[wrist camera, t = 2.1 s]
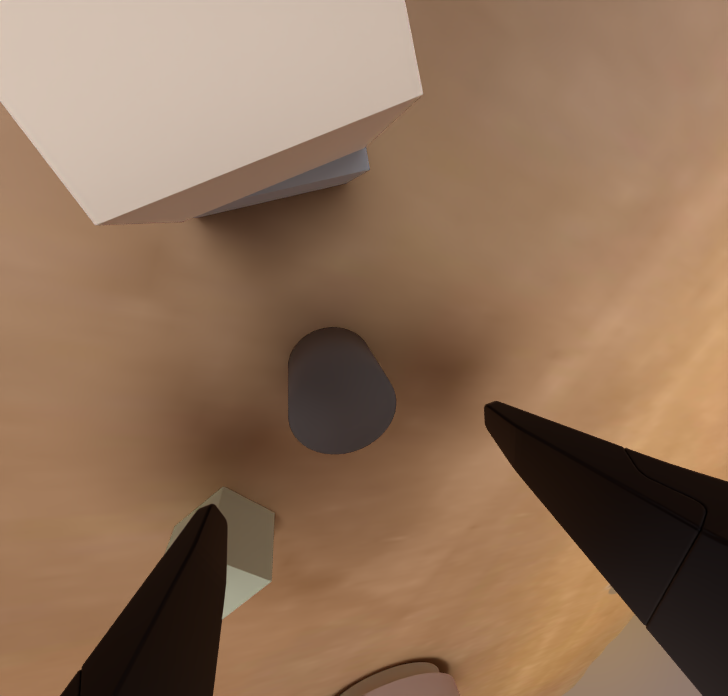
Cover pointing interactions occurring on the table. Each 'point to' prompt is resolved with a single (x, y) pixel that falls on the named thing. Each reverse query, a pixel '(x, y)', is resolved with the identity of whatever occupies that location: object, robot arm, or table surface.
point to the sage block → (241, 545)
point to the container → (406, 682)
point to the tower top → (199, 94)
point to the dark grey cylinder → (337, 392)
